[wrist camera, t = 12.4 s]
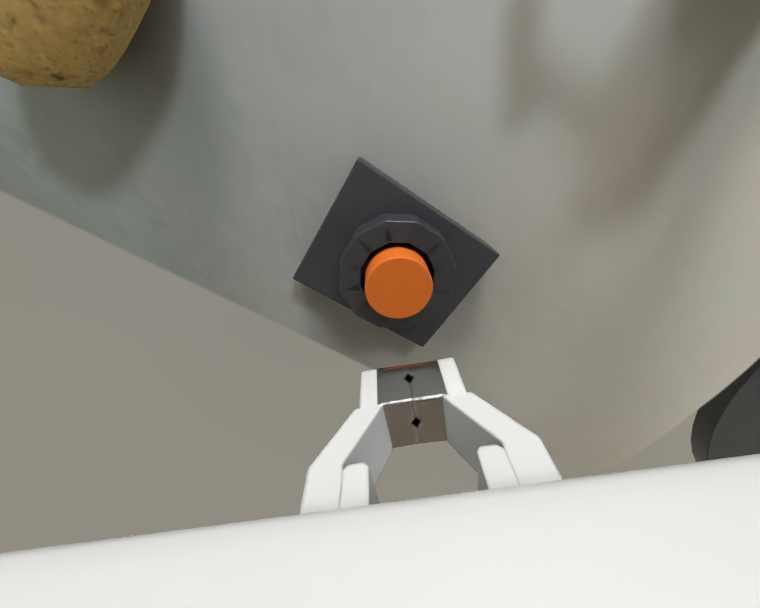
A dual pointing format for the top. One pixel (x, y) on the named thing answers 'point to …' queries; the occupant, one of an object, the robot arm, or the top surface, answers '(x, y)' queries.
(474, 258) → the block
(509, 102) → the top surface
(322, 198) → the top surface
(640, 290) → the top surface
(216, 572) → the robot arm
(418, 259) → the button
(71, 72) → the potato
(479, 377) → the top surface
